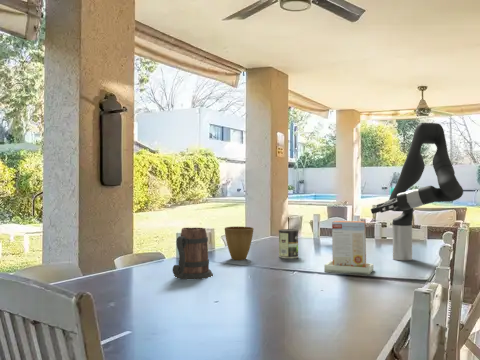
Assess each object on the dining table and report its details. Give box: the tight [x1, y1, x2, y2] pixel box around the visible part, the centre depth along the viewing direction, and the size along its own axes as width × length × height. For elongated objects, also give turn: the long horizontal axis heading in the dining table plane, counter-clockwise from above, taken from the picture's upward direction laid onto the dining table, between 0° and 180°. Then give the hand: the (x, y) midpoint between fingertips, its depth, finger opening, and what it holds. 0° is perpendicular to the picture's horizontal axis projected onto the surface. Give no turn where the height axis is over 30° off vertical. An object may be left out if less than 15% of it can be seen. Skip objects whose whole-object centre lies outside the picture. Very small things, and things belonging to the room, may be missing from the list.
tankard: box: [172, 227, 214, 280], centre depth 193 cm, size 24×17×20 cm
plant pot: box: [224, 226, 254, 261], centre depth 236 cm, size 15×15×16 cm
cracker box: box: [331, 220, 367, 267], centre depth 202 cm, size 14×6×21 cm, turn 70°
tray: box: [323, 260, 374, 276], centre depth 202 cm, size 11×19×3 cm, turn 65°
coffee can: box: [278, 228, 299, 259], centre depth 242 cm, size 10×10×14 cm
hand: (374, 209), depth 203 cm, fingers open, 8 cm apart
